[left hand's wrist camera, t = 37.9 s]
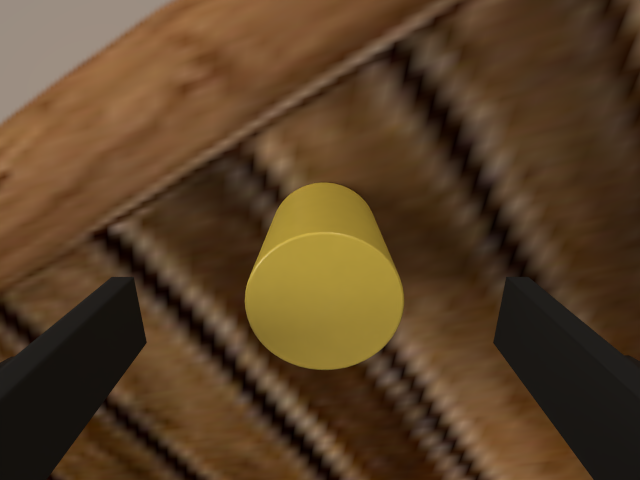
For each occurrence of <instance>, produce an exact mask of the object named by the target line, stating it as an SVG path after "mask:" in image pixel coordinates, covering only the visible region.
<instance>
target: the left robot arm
mask: <svg viewBox="0 0 640 480" xmlns="http://www.w3.org/2000/svg"><path fill="white" fill-rule="evenodd" d="M146 343H147V342H146V337H145V332H144V327H143V322H142V317H141V312H140V307H139V302H138V297H137V292H136V287H135V282H134V277H111V278H110V279H109V280H108V281H106V282H105V283H104V284H103V285H101V286H100V287H99V288H98V289H97V290H95V291H94V292H93V293H92V294H91V295H89V296H88V297H87V298H86V299H84V300H83V301H82V302H81V303H80V304H78V305H77V306H76V307H75V308H73V309H72V310H71V311H70V312H69V313H67V314H66V315H65V316H64V317H62V318H61V319H60V320H59V321H58V322H56V323H55V324H54V325H53V326H52V327H50V328H49V329H48V330H47V331H45V332H44V333H43V334H42V335H41V336H39V337H38V338H37V339H36V340H34V341H33V342H32V343H31V344H30V345H28V346H27V347H26V348H25V349H23V350H22V351H21V352H20V353H19V354H17V355H16V356H15V357H10V358H8V359H6V360H4V361H3V362H1V363H0V480H46V479H47V478H48V477H49V475H50V474H51V473H52V471H53V470H54V468H55V467H56V466H57V464H58V463H59V462H60V460H61V459H62V458H63V456H64V455H65V453H66V452H67V451H68V449H69V448H70V447H71V445H72V444H73V443H74V441H75V440H76V438H77V437H78V436H79V434H80V433H81V432H82V430H83V429H84V428H85V426H86V425H87V423H88V422H89V421H90V419H91V418H92V417H93V415H94V414H95V413H96V411H97V410H98V408H99V407H100V406H101V404H102V403H103V402H104V400H105V399H106V398H107V396H108V395H109V393H110V392H111V391H112V389H113V388H114V387H115V385H116V384H117V382H118V381H119V380H120V378H121V377H122V376H123V374H124V373H125V372H126V370H127V369H128V367H129V366H130V365H131V363H132V362H133V361H134V359H135V358H136V357H137V355H138V354H139V352H140V351H141V350H142V348H143V347H144V346H145V344H146ZM493 343H494V344H495V346H496V347H497V348H498V350H499V351H500V352H501V354H502V355H503V357H504V358H505V359H506V361H507V362H508V363H509V365H510V366H511V367H512V369H513V370H514V372H515V373H516V374H517V376H518V377H519V378H520V380H521V381H522V382H523V384H524V385H525V387H526V388H527V389H528V391H529V392H530V393H531V395H532V396H533V398H534V399H535V400H536V402H537V403H538V404H539V406H540V407H541V408H542V410H543V411H544V413H545V414H546V415H547V417H548V418H549V419H550V421H551V422H552V423H553V425H554V426H555V428H556V429H557V430H558V432H559V433H560V434H561V436H562V437H563V438H564V440H565V441H566V443H567V444H568V445H569V447H570V448H571V449H572V451H573V452H574V453H575V455H576V456H577V458H578V459H579V460H580V462H581V463H582V464H583V466H584V467H585V468H586V470H587V471H588V473H589V474H590V475H591V477H592V478H593V479H594V480H640V361H638V360H636V359H635V358H633V357H631V356H624V355H623V354H621V353H620V352H619V351H618V350H617V349H615V348H614V347H613V346H612V345H610V344H609V343H608V342H607V341H606V340H604V339H603V338H602V337H601V336H599V335H598V334H597V333H596V332H595V331H593V330H592V329H591V328H590V327H588V326H587V325H586V324H585V323H584V322H582V321H581V320H580V319H579V318H578V317H576V316H575V315H574V314H573V313H571V312H570V311H569V310H568V309H567V308H565V307H564V306H563V305H562V304H560V303H559V302H558V301H557V300H556V299H554V298H553V297H552V296H551V295H549V294H548V293H547V292H546V291H545V290H543V289H542V288H541V287H540V286H539V285H537V284H536V283H535V282H534V281H532V280H531V279H530V278H529V277H506V282H505V287H504V292H503V297H502V302H501V307H500V312H499V317H498V322H497V327H496V332H495V337H494V342H493Z"/></svg>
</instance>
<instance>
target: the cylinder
mask: <svg viewBox="0 0 640 480" xmlns="http://www.w3.org/2000/svg"><path fill="white" fill-rule="evenodd" d="M245 308H246V313H247V318H248V320H249V323H250V326H251V328H252V330H253V331H254V333H255V335H256V336H257V338H258V339H259V340H260V342H261V343H262V344H263V345H264V346H265V347H266V348H267V349H268V350H270V351H271V352H272V353H273V354H275V355H276V356H278V357H279V358H281V359H283V360H285V361H287V362H289V363H291V364H294V365H297V366H300V367H304V368H309V369H317V370H331V369H340V368H345V367H349V366H352V365H355V364H358V363H360V362H362V361H365V360H366V359H368V358H370V357H371V356H373V355H374V354H376V353H377V352H378V351H380V350H381V349H382V348H383V347H384V346H385V345H386V344H387V343H388V342H389V340H390V339H391V338H392V337H393V335H394V333H395V332H396V330H397V328H398V326H399V323H400V321H401V318H402V314H403V308H404V292H403V287H402V283H401V280H400V277H399V275H398V272H397V270H396V268H395V265H394V263H393V260H392V258H391V256H390V253H389V251H388V249H387V246H386V244H385V242H384V239H383V237H382V235H381V232H380V230H379V228H378V225H377V223H376V221H375V218H374V216H373V214H372V212H371V210H370V208H369V206H368V205H367V203H366V202H365V201H364V200H363V199H362V198H361V197H360V196H359V195H358V194H357V193H355V192H354V191H352V190H350V189H349V188H346V187H344V186H341V185H338V184H333V183H315V184H310V185H307V186H304V187H302V188H299V189H298V190H296V191H294V192H293V193H291V194H290V195H289V196H288V197H287V198H286V199H285V200H284V201H283V202H282V203H281V205H280V206H279V208H278V210H277V211H276V214H275V216H274V219H273V221H272V224H271V226H270V229H269V231H268V233H267V236H266V238H265V241H264V243H263V246H262V248H261V251H260V253H259V255H258V258H257V260H256V263H255V265H254V268H253V270H252V273H251V275H250V278H249V280H248V283H247V287H246V292H245Z"/></svg>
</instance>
